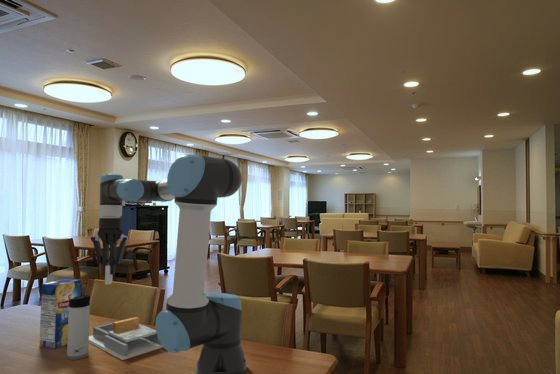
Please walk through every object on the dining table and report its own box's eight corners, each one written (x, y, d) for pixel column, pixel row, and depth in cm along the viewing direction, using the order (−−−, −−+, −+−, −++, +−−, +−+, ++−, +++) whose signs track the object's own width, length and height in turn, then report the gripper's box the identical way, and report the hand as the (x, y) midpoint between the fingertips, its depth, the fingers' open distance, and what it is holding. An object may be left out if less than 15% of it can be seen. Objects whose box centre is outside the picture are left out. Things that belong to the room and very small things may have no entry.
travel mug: (80, 361, 123) (82, 298, 124) (62, 359, 125) (64, 297, 126) (93, 353, 130) (95, 293, 130) (76, 352, 131) (78, 292, 132)
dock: (165, 346, 137) (165, 333, 137) (122, 360, 124) (122, 346, 124) (125, 329, 154) (125, 318, 155) (84, 340, 142) (84, 327, 142)
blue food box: (39, 346, 135) (41, 283, 136) (64, 336, 146) (66, 278, 147) (54, 349, 133) (56, 285, 134) (79, 338, 144) (81, 279, 145)
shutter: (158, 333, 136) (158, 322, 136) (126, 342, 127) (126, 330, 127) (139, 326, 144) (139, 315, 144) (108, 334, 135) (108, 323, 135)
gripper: (132, 217, 141) (130, 281, 140) (97, 216, 141) (94, 281, 140) (125, 217, 134) (123, 286, 133) (87, 217, 133) (85, 285, 132)
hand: (108, 283), depth 136 cm, fingers closed
